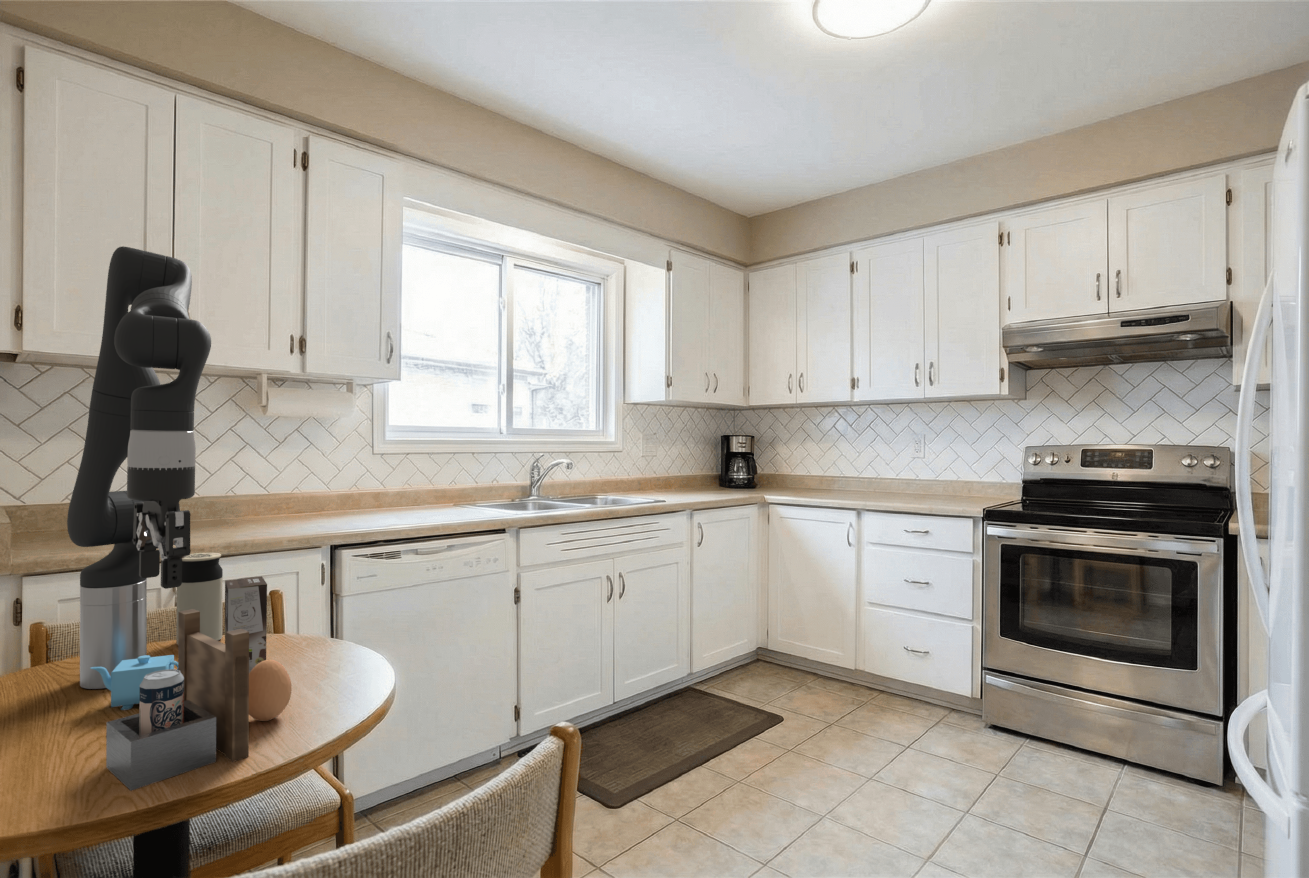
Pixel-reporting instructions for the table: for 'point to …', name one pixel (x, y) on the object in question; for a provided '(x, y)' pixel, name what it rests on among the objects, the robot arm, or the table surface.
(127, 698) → the teapot
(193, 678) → the headboard panel
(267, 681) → the egg
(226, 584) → the coffee box
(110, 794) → the table surface
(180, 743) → the post bracket
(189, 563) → the travel mug
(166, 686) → the beer can
